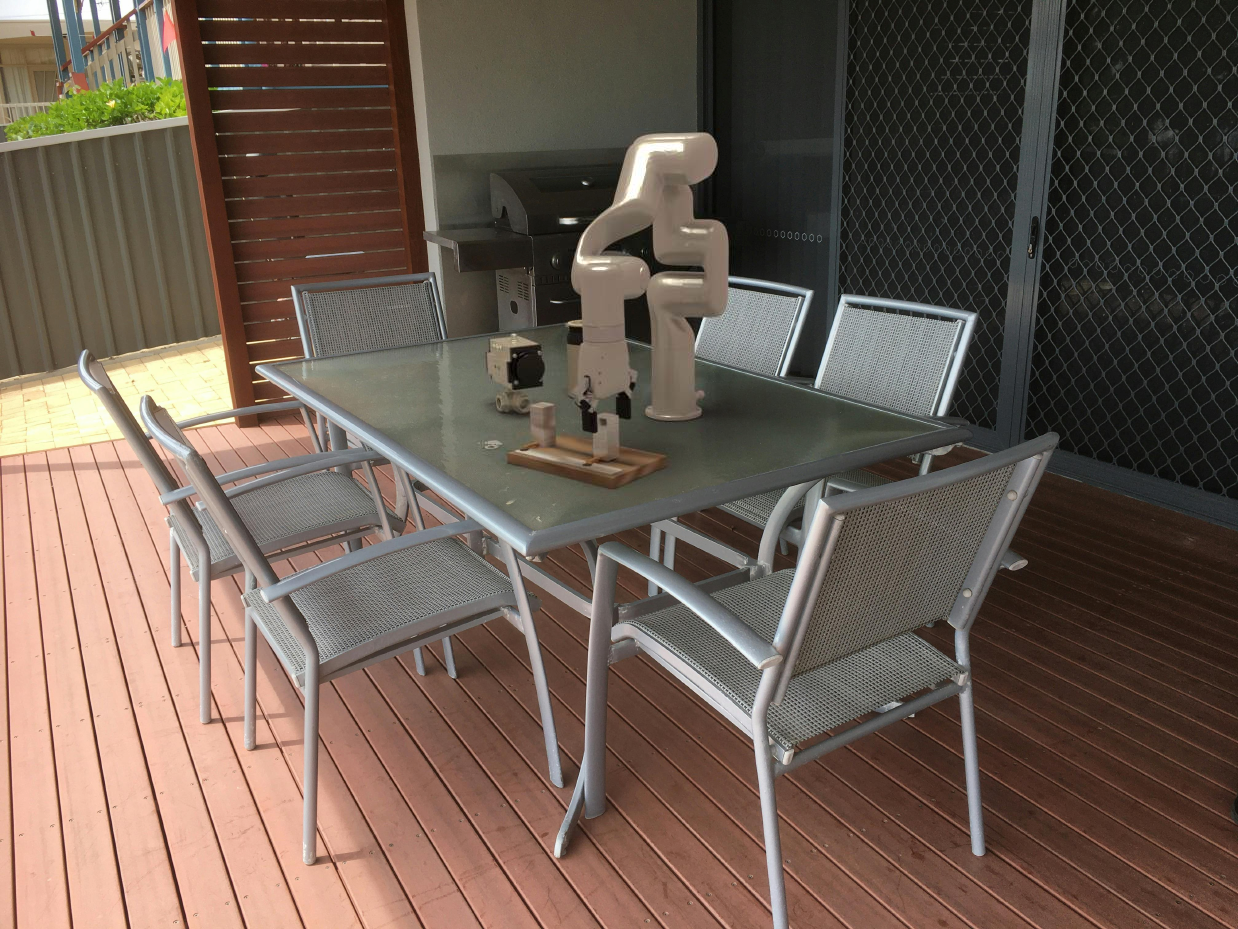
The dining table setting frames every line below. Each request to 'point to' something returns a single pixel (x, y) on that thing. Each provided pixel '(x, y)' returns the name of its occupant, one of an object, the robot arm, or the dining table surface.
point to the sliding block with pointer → (606, 438)
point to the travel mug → (574, 352)
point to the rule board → (579, 454)
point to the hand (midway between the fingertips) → (607, 425)
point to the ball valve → (515, 370)
